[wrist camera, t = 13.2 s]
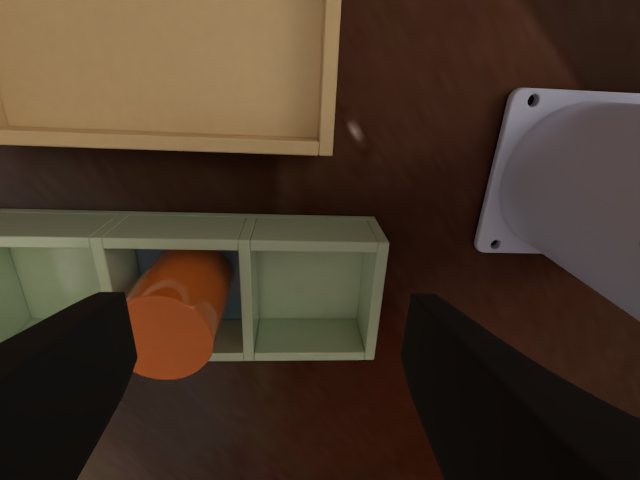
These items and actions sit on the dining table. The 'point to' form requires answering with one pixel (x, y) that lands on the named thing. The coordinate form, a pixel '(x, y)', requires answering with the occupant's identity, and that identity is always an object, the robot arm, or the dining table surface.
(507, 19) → the dining table surface
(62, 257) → the green compartment tray
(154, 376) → the orange cylinder
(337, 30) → the birch tray
